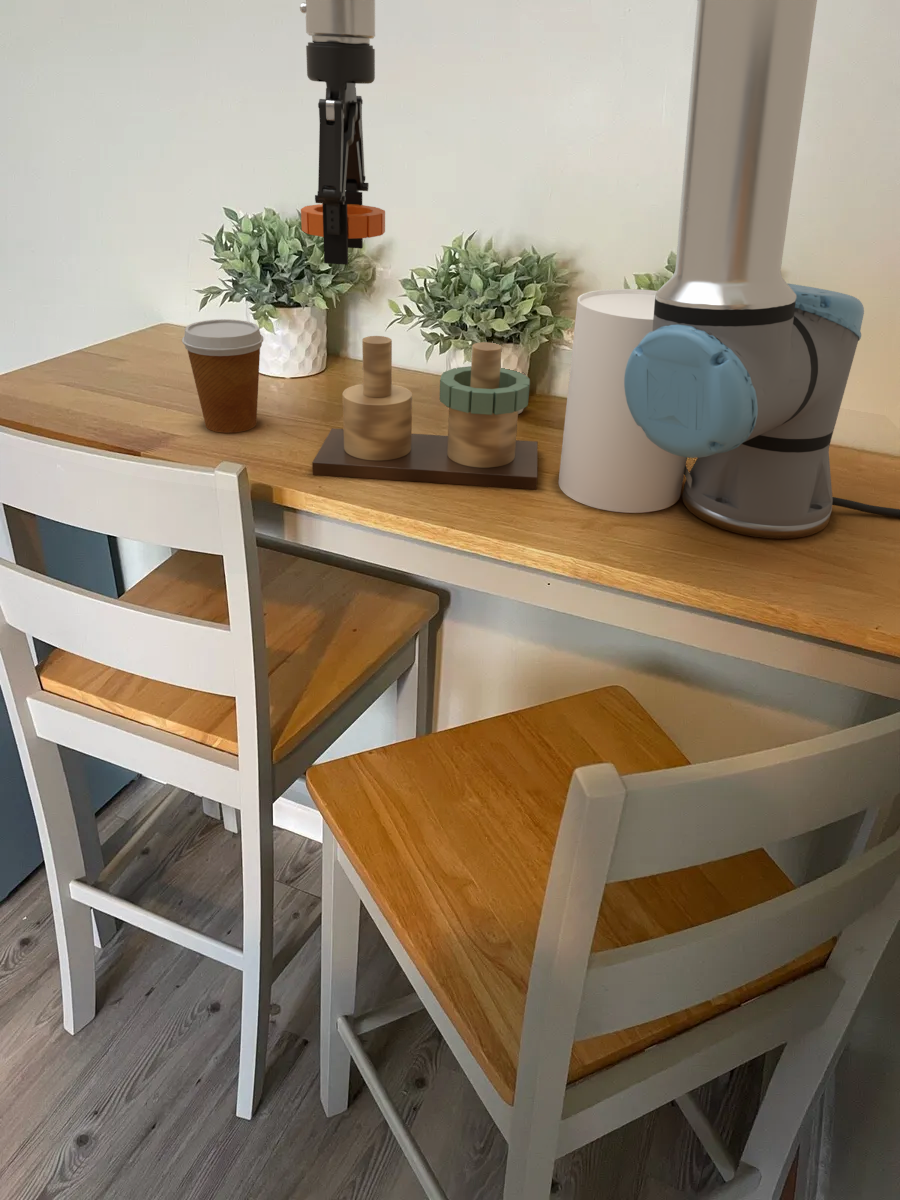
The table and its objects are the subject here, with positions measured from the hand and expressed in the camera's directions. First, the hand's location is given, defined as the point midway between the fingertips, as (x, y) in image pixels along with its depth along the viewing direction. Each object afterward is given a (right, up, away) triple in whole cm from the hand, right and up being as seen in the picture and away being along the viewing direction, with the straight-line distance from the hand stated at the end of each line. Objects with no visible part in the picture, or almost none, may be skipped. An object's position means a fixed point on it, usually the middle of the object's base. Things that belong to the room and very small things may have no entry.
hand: (344, 255), depth 110 cm
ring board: (+10, -26, -6) cm, 29 cm away
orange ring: (0, +2, -1) cm, 3 cm away
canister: (+32, -30, -9) cm, 45 cm away
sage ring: (+17, -20, -10) cm, 28 cm away
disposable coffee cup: (-15, -20, +3) cm, 25 cm away
